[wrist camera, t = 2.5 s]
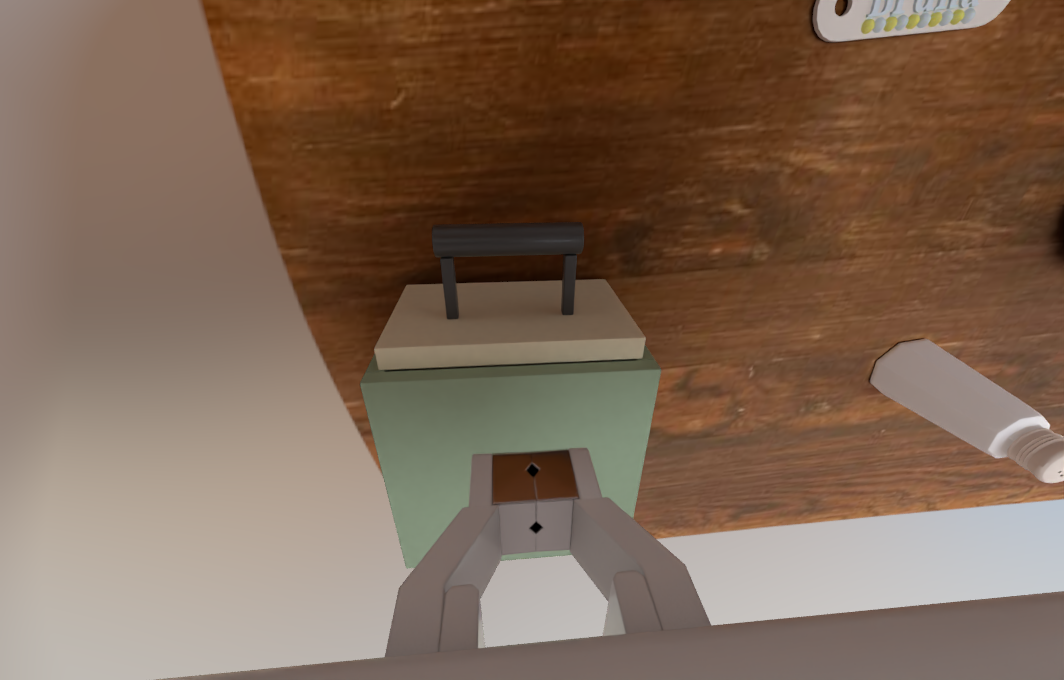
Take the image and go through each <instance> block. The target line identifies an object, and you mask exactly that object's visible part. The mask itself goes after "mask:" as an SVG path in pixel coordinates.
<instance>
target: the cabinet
mask: <svg viewBox="0 0 1064 680" xmlns="http://www.w3.org/2000/svg"><path fill="white" fill-rule="evenodd" d="M409 370H410V369H398V370H379V369H378V365H377V360H376V356H375V354H374V356H373V358H372V360H371V362H370V364H369V366H368V368H367V370H366V373H365V374H364V376H363V378H362V380H361V382H360V386H361V390H362V394H363V398H364V402H365V406H366V410H367V414H368V418H369V422H370V426H371V430H372V434H373V438H374V442H375V446H376V450H377V454H378V458H379V462H380V466H381V470H382V474H383V478H384V482H385V486H386V490H387V494H388V498H389V502H390V505H391V509H392V513H393V517H394V521H395V525H396V529H397V533H398V537H399V541H400V545H401V549H402V553H403V557H404V561H405V565H406V568H415V567H416V566H417V565H418V563H419V562H420V561H421V560H422V558H423V557H424V556H425V555H426V553H427V552H428V551H429V550H430V548H431V547H432V546H433V544H434V543H435V542H436V541H437V539H438V538H439V537H440V536H441V534H442V533H443V532H444V531H445V529H446V528H447V527H448V526H449V524H450V523H451V522H452V520H453V519H454V518H455V517H456V515H457V514H458V513H459V512H460V510H461V509H462V508H464V507H469V493H470V477H471V461H472V456H473V454H491V453H492V454H493V453H505V452H530V451H542V450H556V449H569V448H583V447H586V448H587V449H588V450H589V453H590V456H591V460H592V463H593V467H594V470H595V473H596V477H597V480H598V484H599V487H600V490H601V494H602V497H603V498H604V497H609V498H610V499H611V500H612V501H613V502H614V503H615V504H617V505H618V506H619V507H620V508H621V509H622V510H623V511H625V512H626V513H627V514H628V515H629V516H630V517H631V518H632V519H633V516H634V510H635V505H636V500H637V495H638V489H639V484H640V479H641V473H642V468H643V463H644V458H645V452H646V447H647V442H648V437H649V431H650V426H651V421H652V416H653V410H654V405H655V400H656V395H657V389H658V384H659V379H660V373H661V368H660V367H659V365H658V364H657V362H656V361H655V360H654V358H653V356H652V355H651V353H650V352H649V350H648V349H647V347H646V346H645V345H644V351H643V358H642V359H624V360H612V362H591V363H569V364H546V365H524V366H502V367H479V368H457V369H435V370H412V371H409ZM565 555H572V554H571V553H570V550H560V551H541V552H529V553H520V554H511V555H502V558H501V560H500V561H504V560H516V559H528V558H541V557H553V556H565Z"/></svg>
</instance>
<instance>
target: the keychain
mask: <svg viewBox="0 0 1064 680" xmlns="http://www.w3.org/2000/svg"><path fill="white" fill-rule="evenodd" d="M1009 1H1010V0H848V6H847V9H846V11H845V13H844V14H843V15H842V16H837V15H836V13H835V4H836V2H837V0H816V3H815V6H814V10H813V25H814V30H815V32H816V33H817V35H818V36H819V38H821V39H822V40H824V41H826V42H842V41H852V40H862V39H871V38H881V37H890V36H900V35H909V34H919V33H929V32H938V31H948V30H957V29H967V28H974V27H978V26H981V25H984V24H986V23H988V22H989V21H991V20H993V19H994V18H995V17H996V16H997V15H998V14H999V13H1000V12H1001V11H1002V10H1003V9H1004V8H1005V7H1006V5H1007V4H1008V2H1009Z"/></svg>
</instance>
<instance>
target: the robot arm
mask: <svg viewBox="0 0 1064 680" xmlns="http://www.w3.org/2000/svg"><path fill="white" fill-rule="evenodd" d="M560 550H570V553H571V554H572V555H573V556H574V558H575V559H576V560H577V562H578V563H579V564H580V566H581V567H582V568H583V569H584V571H585V572H586V573H587V575H588V576H589V577H590V578H591V580H592V581H593V582H594V584H595V585H596V586H597V588H598V589H599V590H600V591H601V593H602V594H603V595H604V597H605V598H606V599H607V601H608V602H609V603H608V609H607V614H606V620H605V627H604V632H603V636H599V637H589V638H579V639H568V640H558V641H548V642H538V643H528V644H518V645H507V646H497V647H487V648H485V642H484V633H483V623H482V614H481V604H480V598H481V596H482V594H483V593H484V591H485V589H486V587H487V585H488V583H489V581H490V579H491V577H492V576H493V574H494V572H495V570H496V568H497V566H498V564H499V562H500V560H501V558H502V555H511V554H520V553H529V552H541V551H560ZM157 680H1064V592H1052V593H1042V594H1032V595H1021V596H1011V597H1001V598H992V599H981V600H970V601H960V602H950V603H940V604H930V605H919V606H909V607H898V608H889V609H878V610H868V611H858V612H847V613H837V614H827V615H816V616H806V617H797V618H786V619H775V620H765V621H754V622H745V623H735V624H724V625H713V626H711V624H710V622H709V619H708V617H707V615H706V612H705V610H704V608H703V605H702V603H701V601H700V598H699V596H698V594H697V592H696V589H695V587H694V584H693V582H692V580H691V577H690V575H689V573H688V571H687V568H686V566H685V564H683V563H682V562H681V561H680V560H679V559H678V558H677V557H676V556H674V555H673V554H672V553H671V552H670V551H669V550H668V549H667V548H665V547H664V546H663V545H662V544H661V543H660V542H659V541H657V540H656V539H655V538H654V537H653V536H652V535H651V534H649V533H648V532H647V531H646V530H645V529H644V528H643V527H642V526H640V525H639V524H638V523H637V522H636V521H635V520H634V519H632V518H631V517H630V516H629V515H628V514H627V513H626V512H625V511H623V510H622V509H621V508H620V507H619V506H618V505H617V504H615V503H614V502H613V501H612V500H611V499H610V498H609V497H604V498H603V497H602V494H601V490H600V487H599V484H598V480H597V477H596V473H595V470H594V467H593V463H592V460H591V456H590V453H589V450H588V449H587V448H586V447H583V448H569V449H556V450H542V451H530V452H505V453H493V454H492V453H491V454H473V456H472V461H471V477H470V493H469V507H464V508H462V509H461V510H460V512H459V513H458V514H457V515H456V517H455V518H454V519H453V520H452V522H451V523H450V524H449V526H448V527H447V528H446V529H445V531H444V532H443V533H442V534H441V536H440V537H439V538H438V539H437V541H436V542H435V543H434V544H433V546H432V547H431V548H430V550H429V551H428V552H427V553H426V555H425V556H424V557H423V558H422V560H421V561H420V562H419V563H418V565H417V566H416V567H415V569H414V570H413V571H412V572H411V574H410V575H409V576H408V577H407V579H406V580H405V581H404V582H403V584H402V585H401V586H400V588H399V591H398V595H397V600H396V605H395V610H394V615H393V620H392V625H391V629H390V634H389V639H388V644H387V649H386V654H385V657H384V658H374V659H364V660H353V661H343V662H333V663H323V664H313V665H302V666H292V667H281V668H271V669H261V670H251V671H240V672H231V673H221V674H210V675H199V676H189V677H178V678H168V679H157Z"/></svg>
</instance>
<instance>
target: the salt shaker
mask: <svg viewBox="0 0 1064 680" xmlns="http://www.w3.org/2000/svg"><path fill="white" fill-rule="evenodd" d="M870 383H871V384H872V385H873V386H874V387H876V388H877V389H878V390H879V391H880V392H881V393H882V394H884V395H885V396H887V397H889V398H891V399H892V400H894V401H896V402H898V403H899V404H901V405H903V406H905V407H906V408H908V409H910V410H912V411H913V412H915V413H917V414H919V415H920V416H922V417H924V418H926V419H927V420H929V421H931V422H933V423H934V424H936V425H938V426H940V427H941V428H943V429H945V430H947V431H948V432H950V433H952V434H954V435H955V436H957V437H959V438H960V439H962V440H964V441H966V442H967V443H969V444H971V445H973V446H974V447H976V448H978V449H980V450H981V451H983V452H985V453H987V454H989V455H991V456H993V457H995V458H1003V457H1009V458H1010V459H1012V460H1015V461H1016V463H1017V464H1018V465H1020V466H1021V467H1023V468H1024V469H1026V470H1029V471H1031V472H1032V473H1033V475H1034V476H1035V477H1036V478H1037V479H1039V480H1040V481H1042V482H1046V483H1056V482H1061V481H1064V437H1063V436H1061V435H1059V434H1055V433H1053V432H1052V431H1051V430H1050V429H1049V427H1050V424H1049V423H1048V422H1047V421H1046V419H1045V418H1044V417H1043V416H1042V415H1041V414H1040V413H1038V412H1037V411H1035V410H1034V409H1033V408H1031V407H1030V406H1028V405H1027V404H1025V403H1024V402H1022V401H1021V400H1019V399H1018V398H1016V397H1015V396H1013V395H1012V394H1010V393H1009V392H1007V391H1006V390H1004V389H1003V388H1001V387H1000V386H998V385H996V384H995V383H993V382H992V381H990V380H989V379H987V378H986V377H984V376H983V375H981V374H980V373H978V372H977V371H975V370H974V369H972V368H971V367H969V366H968V365H966V364H965V363H963V362H961V361H960V360H958V359H957V358H955V357H954V356H952V355H951V354H949V353H948V352H946V351H945V350H943V349H942V348H940V347H939V346H937V345H936V344H934V343H933V342H931V341H929V340H928V339H921V340H915V341H909V342H903V343H899V344H897V345H896V346H895V347H894V348H892V349H891V350H890V351H888V352H887V353H886V354H885V355H883V356H882V357H881V358H880V359H878V360H877V361H876V364H875V367H874V370H873V373H872V376H871V379H870Z"/></svg>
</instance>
